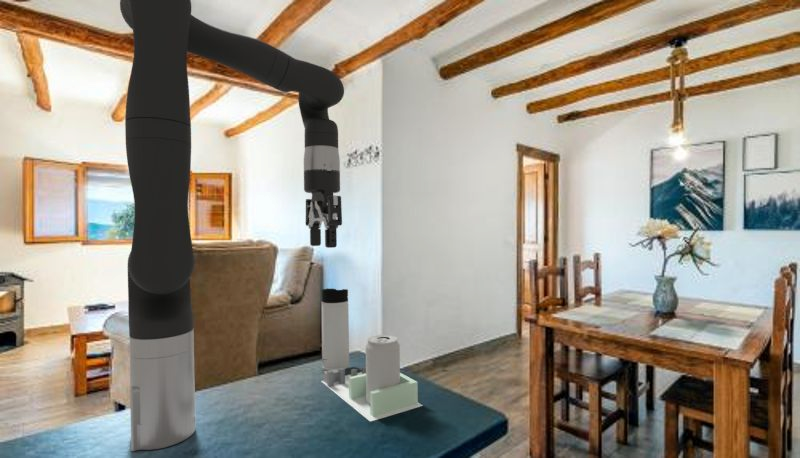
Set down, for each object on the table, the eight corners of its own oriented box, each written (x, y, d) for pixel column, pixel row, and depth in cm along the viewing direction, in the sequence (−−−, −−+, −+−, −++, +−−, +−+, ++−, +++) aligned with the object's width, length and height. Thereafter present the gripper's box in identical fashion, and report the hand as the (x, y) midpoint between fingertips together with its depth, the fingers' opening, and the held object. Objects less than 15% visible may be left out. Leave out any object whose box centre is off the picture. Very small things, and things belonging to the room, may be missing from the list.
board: (370, 428, 71) (369, 403, 70) (321, 386, 89) (320, 367, 89) (422, 411, 76) (422, 389, 76) (366, 376, 95) (366, 357, 95)
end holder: (373, 416, 72) (372, 393, 72) (349, 397, 80) (348, 377, 80) (417, 403, 77) (417, 382, 77) (391, 386, 85) (390, 367, 85)
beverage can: (403, 396, 81) (402, 334, 81) (396, 410, 74) (395, 343, 74) (371, 394, 82) (370, 333, 82) (362, 408, 76) (361, 342, 76)
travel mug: (317, 375, 96) (316, 288, 96) (329, 365, 102) (327, 284, 102) (342, 377, 95) (341, 289, 94) (353, 367, 101) (351, 285, 101)
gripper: (293, 172, 92) (294, 246, 92) (317, 164, 80) (318, 248, 80) (325, 174, 96) (326, 244, 96) (352, 167, 84) (353, 247, 84)
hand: (323, 246), depth 88 cm, fingers open, 8 cm apart
